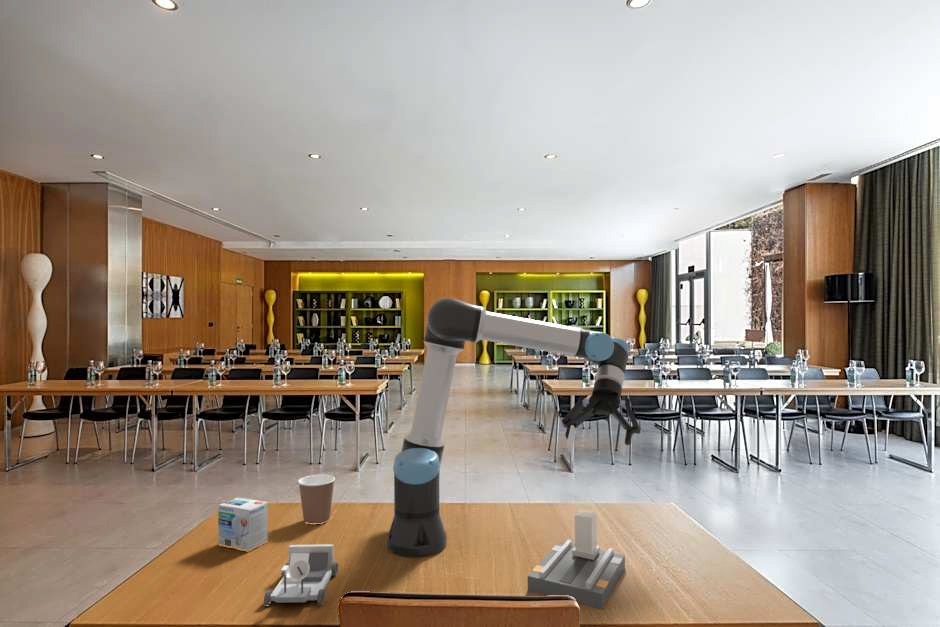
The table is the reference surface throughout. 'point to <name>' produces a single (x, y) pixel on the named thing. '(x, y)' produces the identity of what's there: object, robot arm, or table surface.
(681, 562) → the table surface
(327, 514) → the coffee cup
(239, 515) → the light bulb box
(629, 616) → the table surface
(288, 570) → the toy car
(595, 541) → the switch slider
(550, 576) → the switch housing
